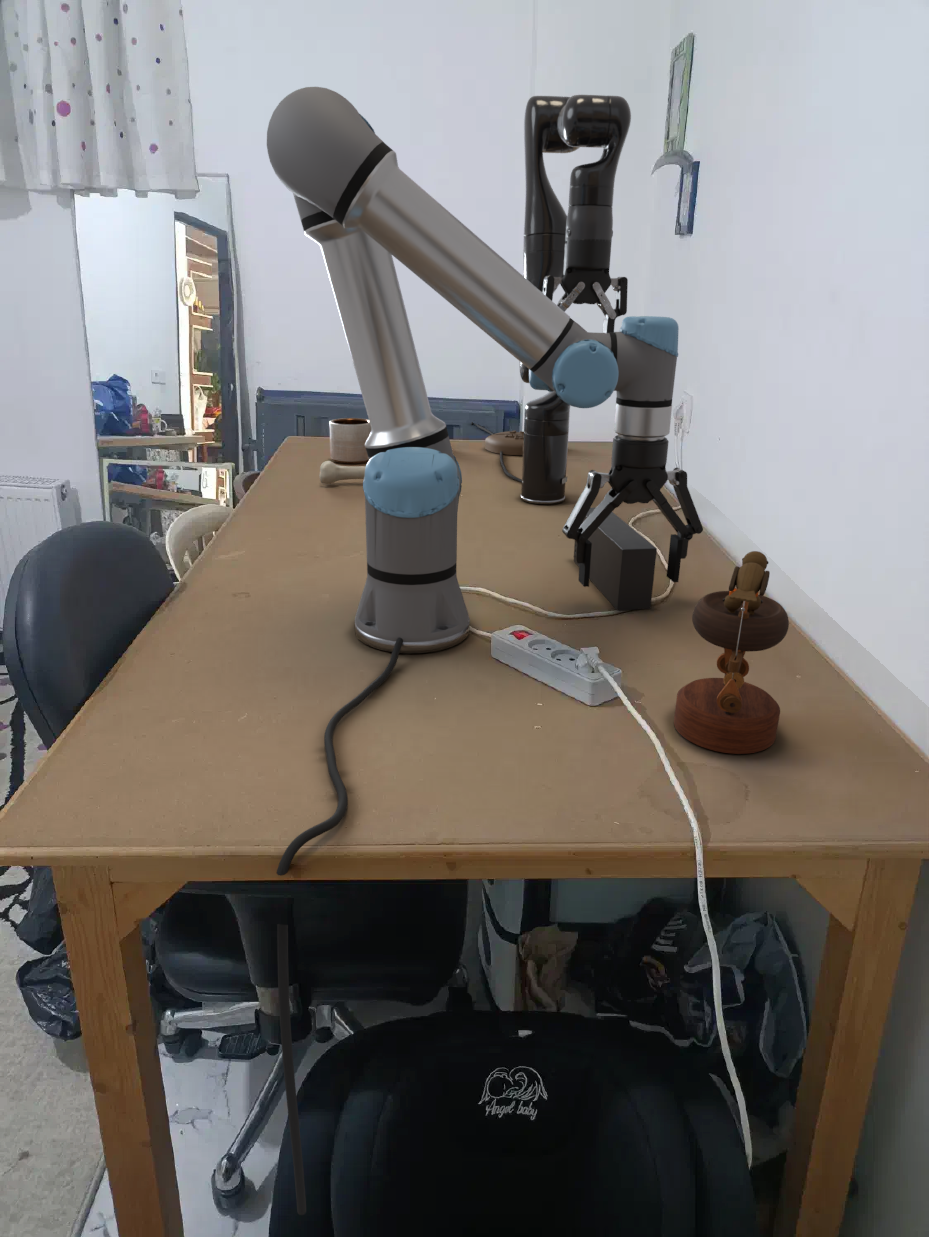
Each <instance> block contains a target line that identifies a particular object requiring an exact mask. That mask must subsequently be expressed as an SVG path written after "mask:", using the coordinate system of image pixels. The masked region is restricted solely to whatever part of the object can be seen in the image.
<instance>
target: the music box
mask: <svg viewBox="0 0 929 1237" xmlns="http://www.w3.org/2000/svg"><path fill="white" fill-rule="evenodd" d="M741 561H742V562H741V566H735V567H734V569H733V572H732V575H731V578H730V582H729V585H728V590H719V591H714V592H710V593H707V594H706V595H704V596H702V597H701V598H700V599H699V600H698V601H697V602H696V604H695V606H694V607H693V610H692V616H691V618H692V624H693V627H694V629H695V630H696V633H697V634H698V635H699V636H700V637H701V638H702V639H703V640H705V641H706V642H708V643H710V644H712V645H714V646H717V647H719V648H721V649H723V650H724V651H723V653H721V654H720V655H719V656H718V657H717V659H716V667H717V669H718V671H719V672H721V673H722V674H724V675H723V677H706V678H704V677H703V678H699V679H695V680H692V681H691V682H689V683H687V684H686V685H684V686H682V687H681V688H679V690H678V691H677V694H676V700H675V709H674V716H673V725H674V728H675V729H676V731H677V732H678V734H680V735H681V736H682V737H683V738H684V739H686V740H687V741H689V742H690V743H692V744H694V745H696V746H698V747H700V748H701V747H702V748H704V749H707V750H710V751H715V752H720V753H725V754H735V755H741V754H742V755H743V754H744V755H745V754H754V753H759V752H762V751H765V750H767V749H768V748H770V747H771V746H772V745H773V744H775V741H776V739H777V738H776V737H777V732H778V728H779V727H778V726H779V722H780V716H781V707H780V704H779V703H778V702H777V701H776V699H775V698H774V697H773V696H772V695H771V694H769V692H767V691H766V690H764V689H763V688H761V687H759V686H756V685H754V684H751V683H749V682H747V681H745V678H744V677H746V676H747V675H748V673H749V671H750V665H749V662H748V661H747V660H746V659H745V654H746V653H747V652H760V651H765V650H769V649H771V648H774V647H775V646H777V645H779V644H780V643H781V642H782V641H783V640H784V638H785V637H786V636H787V634H788V631H789V627H790V619H789V615H788V613H787V611H786V609H785V607H783V605H782V604H780V603H779V602H778V601H776V600H775V599H772V598H771V597H767V596H765V594H766V591H767V589H768V588H767V587H768V585H769V584H768V583H769V580H770V571H769V570H766V569H767V567H768V565H769V563H770V562H769V561H768V558H767V556H766V555H765V554H764V553H763V552H761V551H758V550H752V551H750V552H747V553H746V554H745V555H744V556H743V557H742V559H741Z"/></svg>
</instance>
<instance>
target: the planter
mask: <svg viewBox="0 0 929 1237" xmlns="http://www.w3.org/2000/svg"><path fill="white" fill-rule="evenodd" d="M328 424H329V425H328V426H329V453H330V454H329V455H330V456H329V457H330V459H331V460H332V461H333V462H335V463H341V464H363V463H368V461H369V458H368V455H367V451H366V447H365V443H366V441H367V439H368V437H369V435H370V433H371V430H372V428H371V425H370V421H369V418H362V417H361V418H360V417H342V418H341V417H340V418H335V419H334V418H333V419H331V420H329V421H328Z"/></svg>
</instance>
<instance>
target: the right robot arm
mask: <svg viewBox="0 0 929 1237" xmlns="http://www.w3.org/2000/svg"><path fill="white" fill-rule="evenodd" d="M631 111H632V110H631V107H630V104H629V102H628V101H627V99H625V98H624V97H622V96H619V95H604V94H603V95H602V94H601V95H600V94H574V95H572V96H562V95H561V96H560V95H559V96H558V95H533V96H531V97H529V98H528V100H527V102H526V105H525V110H524V119H523V146H524V147H523V148H524V176H525V179H524V180H525V199H524V200H525V202H524V221H523V223H524V224H523V247H522V248H523V250H522V251H523V252H522V260H523V261H522V264H523V265H522V266H523V270H522V272H523V274H522V276H524V277H525V278H526V279H527V280H528V281H529V282H531V283H532V284H533V285H534V286H535V287H536V288H537V289H539V290H540V291H541V292H542V293H543V294H544V295H545V296H547V297H548V298H549V299H550V300H551V301H552V302H553V298H554V293H556V290H557V289H558V287H559V286H560V287H561V288H562V290H563V292H564V293H563V295H562V296H561V298H560V299H559V300H558V302H557V304H556V305H557V306H558V307H559V308H560V309H562V310H563V311H564V312H565V313H566V311H567V310H568V309H569V308H570V307H571V305H572V304H573V305H583V304H586V305H597V307H598V308H599V309H600V311H601V312H602V314H603V316H604V317H605V318H603V324H602V333H609V332H615V326H616V319H617V318H619V317H621V316H626V314H627V313H628V287H629V286H628V282H629V279H628V278H627V276H617V277H611V275H610V269H611V268H610V267H611V254H612V253H611V252H612V242H613V241H612V240H613V236H614V231H613V226H614V217H613V206H614V193H615V192H614V191H615V189H614V188H615V182H616V176H617V170H618V166H619V162H620V159H621V155H622V152H623V148H624V146H625V143H626V140H627V137H628V134H629V131H630V128H631V123H632V112H631ZM580 148H596V149H597V148H599V149H603V150H602V153H601V156H600V158H599V159H598V160H596V161H594V162H589V163H584V164H580V165H577V166H574V167H573V169H572V170H571V171H570V172H571V173H570V177H569V178H570V179H569V190H568V191H569V194H568V210H567V212H566V210H565V208H564V207H563V205H562V203H561V201H560V200H559V198H558V196H557V195H556V193H555V191H554V188H553V187H552V185H551V183H550V179H549V177H548V174H547V170H546V166H545V160H544V154H569V153H573V152H575V151H577V150H579V149H580ZM610 287H612V290H613V291H614V292H615V301H614V302H615V305H614V306H615V308H614V307H613V306H612V304H611V302H610V299H609V298H608V296H607V295H606V292H607V291H608V290H609V288H610ZM518 365H519V375H520V378H521V380H522V381H523V383H525V384H530V383H529V369H528V368H527V367H526V366H525V365H524V364H522V363H521V362H520V361H519V360H518ZM570 415H571V406H570V405H568V404H567V403H566V402H564V401H563V400H561V399H560V398H559V396H558V395H557V393H556V392H555V391H553V392H549V391H548V392H547V393H546V394H544V395H543V396H540V397H537V398H534V399H532V400H530V401H528V402H527V403H526V404H525V406H524V417H523V418H524V419H523V420H524V421H523V423H524V424H523V432H524V443H523V455H522V470H521V471H522V472H521V478H519V477H517V476H515V475H513V474H512V473H510V472H509V471H508V470H507V467H506V466H505V462H504V454H503V452H502V451H501V452H500V454H499V461H500V466H501V468H502V470H503V472H504V474H505V475H506V476H507V477H509V478H511V479H512V480H514V481H516V482H518V483H521V490H520V491H521V493H520V500H521V501H523V502H526V503H529V504H536V505H556V504H561V503H563V502H565V500H566V483H567V482H568V476H567V465H568V449H569V432H570V417H571V416H570ZM470 425H471V426H473V425H475V426H476V427H477V428H478V429H480V430H482V431H484V432H486V433H488V434H489V435H492V434H494V432H493V431H491V430H489V429H488V428H485V427H484V426H481V425H479V424H478V425H477V424H475V423H473V422H472V421H471V423H470Z"/></svg>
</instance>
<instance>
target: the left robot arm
mask: <svg viewBox="0 0 929 1237" xmlns="http://www.w3.org/2000/svg"><path fill="white" fill-rule="evenodd" d="M266 150H267V156H268V159H269V162H270V165H271V167H272V169H273V172H274V174H275V175H276V177H277V178H278V180H279V181H280V183H281V184H282V185H283V186H285V188H286V189H287V190H288V191H290V192H291V193H292V195H293V198H294V202H295V205H296V209H297V213H298V215H299V220H300V222H301V223H300V224H301V226H302V229H303V233H304V235H305V236H306V237H308V238H309V239H310V240H312V241H314V242H315V243H316V244H318V246H319V247H320V250H321V254H322V256H323V261H324V264H325V267H326V271H327V274H328V278H329V282H330V285H331V288H332V292H333V297H334V299H335V303H336V307H337V310H338V314H339V317H340V321H341V324H342V329H343V332H344V335H345V336H344V337H345V339H346V342H347V346H348V350H349V353H350V357H351V360H352V364H353V367H354V371H355V374H356V378H357V382H358V385H359V388H360V389H359V390H360V392H361V396H362V400H363V403H364V407H365V411H366V415H367V417H368V418H367V419H368V420H369V421H370V425H371V428H372V430H371V433H370V435H369V437H368V439H367V441H366V443H365V447H366V451H367V455H368V458H369V461H368V462H366V465H365V466H366V467H365V477H364V479H363V481H362V490H363V493H364V506H365V507H364V509H365V541H366V542H365V543H366V544H365V545H366V547H365V548H366V579H365V584H364V586H363V589H362V592H361V596H360V600H359V602H358V606H357V609H356V612H355V617H354V633H355V636H356V638H357V639H358V640H359V641H360V642H362V643H363V644H365V645H367V646H368V647H371V648H374V649H377V650H380V651H384V652H390V653H391V655H390V658H389V662H388V664H387V665H386V667H385V669H384V670H383V671H382V673H381V674H379V676H378V677H376V679H375V680H373V681H372V682H371V683H370V684H368V685H367V687H365V688H364V689H363V690H362V691H361V692H360V693H359V694H358V695H357V696H355V697H354V698H353V699H352V700H350V701H349V702H347V703H345V705H343V706H342V707H341V708H339V709H338V710H337V711H336V712H335V713H334V715H333V716H332V717H331V718H330V719H329V721H328V723H327V725H326V728H325V730H324V734H323V742H324V751H325V755H326V761H327V768H328V773H329V777H330V779H331V782H332V785H333V787H334V789H335V791H336V794H337V798H338V799H337V800H338V802H337V807H336V808H335V812H334V814H332V815H331V816H330V817H329V818H328V819H326V820H324V821H322V822H320V823H318V824H316V825H314V826H311V827H309V828H308V829H306V830H304V831H303V832H301V833H300V834H298V835H297V836H296V837H295V838H294V839H293V840H292V841H291V842H290V844H289V845H288V847H286V849H285V850H284V852H283V854H282V856H281V858H280V860H279V863H278V867H277V869H276V874H277V875H278V876H284V875H286V874H287V873H288V871H289V868H290V865H291V863H292V861H293V860H294V857H295V855H296V854H297V853H298V851H299V850H300V849H301V848H302V847H303V846H304V845H306V844H307V843H308V842H309V841H311V840H313V839H315V838H316V837H318V836H320V835H323V834H325V833H326V832H328V831H331V830H332V829H334V828H335V827H336V826H338V825H339V824H340V823H341V821H342V820H343V818H344V817H345V815H346V813H347V810H348V805H349V800H348V799H349V798H348V792H347V788H346V786H345V784H344V782H343V779H342V777H341V775H340V773H339V769H338V767H337V758H336V752H335V748H334V742H333V740H334V738H333V737H334V733H335V729H336V727H337V725H338V723H339V722H340V721H341V720H342V719H343V718H344V717H345V716H346V715H348V713H350V712H351V711H353V709H355V708H356V707H357V706H359V705H360V704H361V703H363V702H364V701H365V700H366V699H367V698H368V697H369V696H370V695H371V694H372V693H373V692H375V690H377V689H378V688H379V687H380V686H381V685H382V684H383V683H384V682H385V681H386V680H387V679H388V678H389V676H390V675H391V674H392V672H393V670H394V669H395V667H396V665H397V662H398V658H399V654H425V653H433V652H439V651H443V650H446V649H449V648H452V647H455V646H457V645H458V644H460V643H462V642H463V641H464V640H466V639H467V637H468V636H469V634H470V616H469V612H468V608H467V606H466V601H465V599H464V596H463V593H462V589H461V586H460V583H459V581H458V577H457V561H458V560H457V559H458V558H457V557H458V556H457V554H458V512H459V501H460V496H461V493H462V487H463V486H462V483H463V474H462V470H461V467H460V464H459V462H458V460H457V457H456V456H455V455H454V451H453V448H452V444H451V441H450V436H449V433H448V428H447V424H446V422H445V421H444V420H442V419H440V418H438V417H437V416H436V415H434V414H433V412H432V409H431V405H430V401H429V396H428V392H427V389H426V385H425V380H424V377H423V373H422V369H421V365H420V361H419V357H418V353H417V349H416V345H415V342H414V341H415V340H414V337H413V333H412V330H411V325H410V322H409V318H408V314H407V309H406V305H405V301H404V299H403V294H402V290H401V286H400V281H399V278H398V274H397V270H396V265H395V263H394V259H393V258H395V259H397V260H398V262H399V263H401V264H402V265H403V266H405V267H406V268H407V269H408V270H409V271H411V272H412V273H413V274H414V275H415V276H417V277H418V278H419V279H420V280H421V281H423V282H424V283H425V284H426V285H427V286H428V287H430V288H431V289H432V290H433V291H434V292H435V293H437V294H438V295H439V296H441V297H442V298H443V299H444V300H445V301H446V302H448V303H449V304H450V305H452V307H453V308H455V309H457V311H458V312H460V313H461V314H462V315H463V316H464V317H465V318H467V319H468V320H469V321H470V322H472V323H473V324H474V325H475V326H476V327H478V328H479V329H480V330H481V331H483V332H484V333H485V334H486V335H487V336H489V337H490V338H491V340H493V341H495V342H496V343H497V344H498V345H500V346H501V347H502V348H503V349H504V350H505V351H507V352H508V353H509V354H510V355H511V356H513V357H514V358H515V359H516V360H518V362H519V361H520V362H521V363H522V364H524V365H525V366H526V367H527V368H528V369H529V383H528V384H529V385H530V387H531V389H533V390H535V391H548V393H549V392H553V391H555V392H556V393H557V395H558V396H559V398H560V399H561V400H563V401H564V402H566V403H567V404H568V405H570V407H574V408H578V409H592V408H595V407H599V406H600V405H601V404H603V403H605V402H606V401H607V400H608V399H609V398H610V397H611V396H612V395H613V393H614V392H616V397H615V410H614V425H613V432H614V434H615V433H616V435H614V437H613V438H612V448H611V460H610V461H611V463H610V464H611V465H610V469H609V471H608V473H607V472H600V471H599V472H598V471H596V470H595V469H590V470H589V471H588V473H587V478H586V484H585V487H584V488H583V490H582V492H581V494H580V495H579V498H578V499H577V501H576V503H575V505H574V507H573V508H572V510H571V512H570V514H569V516H568V517H567V519H566V521H565V523H564V525H563V527H562V529H561V532H562V533H563V535H564V536H565V537H566V538H567V539H569V540H574V546H573V560H574V559H575V561H576V562H577V563H580V565H579V566H578V582H579V583H580V584H581V585H582V587H584V588H586V587H590V579H589V577H590V562H591V548H592V543H591V542H590V541H589V540H588V538H589V537H590V536H591V535H592V534H593V533H594V532H595V530H596V529H597V528H598V527H599V526H600V525H601V524H602V523H603V521H604V520H605V519H606V518H607V517H608V516H609V515H610V514H611V512H614V510H615V509H617V508H619V507H620V506H621V505H622V504H623V503H624V504H627V505H632V504H637V503H640V504H649V503H650V502H651V501H652V502H653V503H654V504H655V506H656V507H657V508H658V510H659V511H660V512H661V513H662V515H663V516H664V517H665V519H666V520H667V522H668V523H669V524H670V526H671V527H672V528H673V530H674V531H675V533H673V534H670V539H669V549H668V557H667V568H666V577H667V578H668V579H669V580H670V581H671V582H672V583H679V580H680V572H681V571H680V570H681V562H682V560H683V559H684V560H686V557H687V556H688V548H689V541H691V540H692V539H693V537H694V535H696V534H698V535H700V534H702V533H703V531H704V528H703V525H702V522H701V519H700V517H699V514H698V511H697V508H696V506H695V504H694V500H693V498H692V495H691V492H690V490H689V487H688V472H686V470H683V469H681V468H679V467H674V468H673V469H672V470H667V469H666V467H667V463H668V462H667V461H668V453H669V452H668V451H669V443H670V442H669V440H668V438H667V437H666V436H668V435H669V434H670V432H671V421H672V411H673V397H674V389H675V388H674V387H675V378H676V370H677V361H678V357H679V330H680V329H679V324H678V322H677V320H676V319H675V318H672V317H670V316H669V317H668V316H649V315H646V316H645V315H644V316H643V315H641V316H637V315H636V316H635V315H634V316H633V315H632V316H626V317H624V318H623V319H622V321H621V326H620V328H619V331H614V332H609V333H603V332H590V331H589V332H588V331H587V330H586V329H585V328H584V327H582V326H581V325H580V324H579V323H578V322H576V321H575V320H574V319H573V318H571V316H570V315H569V314H568V313H566V311H565V312H564V311H563V310H562V309H560V308H559V307H558V306H557V304H556V303H555V302H554V301H553V300H552V301H551V300H550V299H549V298H548V297H547V296H545V295H544V294H543V293H542V292H541V291H540V290H539V289H537V288H536V287H535V286H534V285H533V284H532V283H531V282H529V281H528V280H527V279H526V278H525V277H524V276H523V274H521V272H519V271H518V270H517V269H515V267H514V266H512V265H511V264H510V263H509V262H508V261H507V260H505V258H503V257H502V256H501V255H500V254H499V253H497V252H496V251H495V250H494V249H493V248H492V247H490V246H489V245H488V244H487V243H486V242H485V241H483V240H482V239H481V238H480V237H479V236H478V235H477V234H476V233H474V232H473V231H472V230H471V229H469V227H468V226H466V225H465V224H464V223H463V222H462V221H460V220H459V219H458V218H457V217H456V216H455V215H453V214H452V213H451V212H450V210H448V209H446V208H445V207H444V206H443V205H442V204H441V203H440V202H439V201H437V199H436V198H434V197H433V196H432V195H431V194H429V193H428V192H427V191H426V190H425V189H423V188H422V187H421V186H420V185H419V184H418V183H416V181H415V180H413V179H412V178H411V177H410V176H409V175H407V174H406V173H405V172H404V171H403V170H402V169H401V168H400V167H399V164H398V163H399V162H398V156H397V152H396V151H395V150H393V149H392V147H390V146H389V145H388V144H387V143H385V142H384V141H383V140H382V139H381V137H379V136H378V135H377V134H376V132H375V129H374V128H373V127H372V125H371V124H370V122H369V120H367V119H366V118H365V116H363V115H362V114H361V113H360V112H359V110H358V109H357V108H356V107H355V106H354V104H353V103H352V102H350V101H349V99H347V98H346V97H344V96H343V95H342V94H341V93H339V92H337V91H334V90H332V89H330V88H327V87H322V86H305V87H302V88H301V87H300V88H298V89H296V90H294V91H292V92H291V93H289V94H287V95H286V96H285V97H283V99H281V100H280V102H279V103H278V104H277V106H276V107H275V109H274V110H273V112H272V114H271V116H270V119H269V121H268V126H267V130H266ZM667 482H668V483H669V485H671V486H672V488H673V490H674V493H675V495H676V498H677V501H678V503H679V506H680V509H681V511H682V514H683V516H684V520H685V521H686V524H685V523H684V521H683V520H682V519H681V517H680V516H679V515H678V513H677V512H676V511H675V509H674V508H673V506H672V505H671V504H670V503H669V501H668V499H667V498H666V496H665V495H664V494H663V492H662V491H661V490H662V488H663V487H664V486H665V485H666V483H667ZM606 483H608V484H609V486H610V489H609V490H608V491H607V492H606V494H605V495H604V497H603V499H602V500H601V502H599V503H598V505H597V506H595V507H596V508H595V510H594V511H593V512H592V513H591V514H590V515H589V516H588V517H587V519H586V520H585V521H584V522H583V520H584V518H585V517H586V515H587V513H588V511H589V509H590V508H592V506H593V504H594V502H595V500H596V499H597V497H598V494H599V492H600V489H602V488H604V486H605V484H606ZM582 522H583V523H582ZM676 533H677V534H676ZM276 929H277V931H276V933H277V934H276V938H277V940H276V944H277V945H276V946H277V947H276V948H277V985H278V986H277V987H278V988H277V989H278V992H277V993H278V1008H279V1009H278V1010H279V1011H278V1012H279V1027H280V1041H281V1053H282V1064H283V1076H284V1077H283V1078H284V1087H285V1097H286V1106H287V1116H288V1117H287V1118H288V1125H289V1135H290V1144H291V1153H292V1154H291V1155H292V1162H293V1174H294V1184H295V1197H296V1199H295V1200H296V1210H297V1214H298V1216H304V1215H306V1213H307V1197H306V1184H305V1183H306V1182H305V1172H304V1161H303V1151H302V1150H303V1149H302V1140H301V1131H300V1130H301V1129H300V1121H299V1120H300V1119H299V1110H298V1097H297V1090H296V1087H297V1086H296V1077H295V1076H296V1075H295V1066H294V1055H293V1041H292V1040H293V1039H292V1026H291V1007H290V986H289V985H290V982H289V980H290V979H289V925H288V924H283V923H277V924H276Z"/></svg>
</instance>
